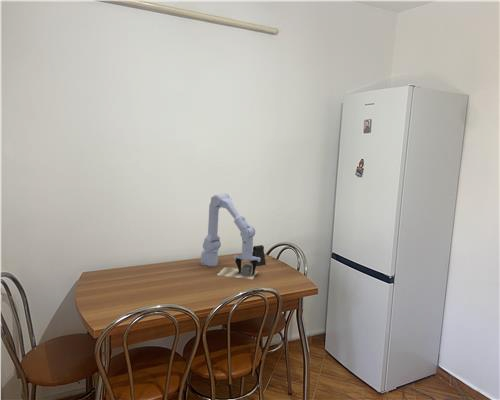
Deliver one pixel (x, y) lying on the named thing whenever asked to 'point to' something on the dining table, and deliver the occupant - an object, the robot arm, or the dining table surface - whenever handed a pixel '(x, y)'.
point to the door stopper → (259, 254)
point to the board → (234, 273)
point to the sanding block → (246, 270)
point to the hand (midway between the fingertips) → (246, 272)
